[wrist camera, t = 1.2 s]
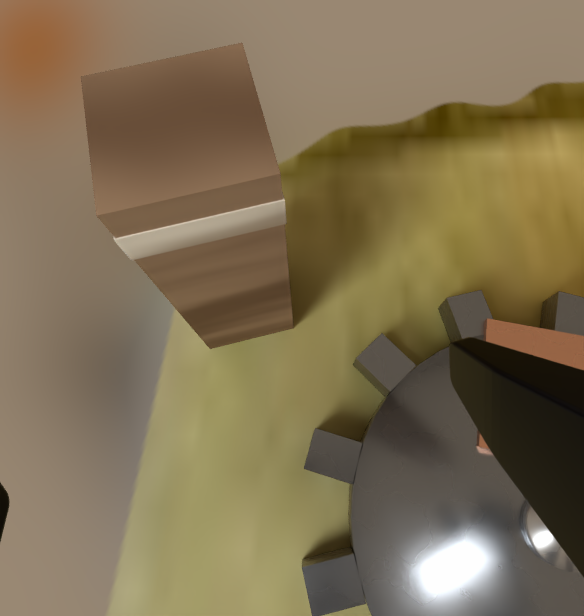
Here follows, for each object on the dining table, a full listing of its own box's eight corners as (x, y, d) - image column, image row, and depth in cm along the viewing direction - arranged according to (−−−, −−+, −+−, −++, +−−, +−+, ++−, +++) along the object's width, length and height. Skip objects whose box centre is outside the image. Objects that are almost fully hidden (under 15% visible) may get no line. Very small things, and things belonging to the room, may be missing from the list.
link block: (294, 328, 23) (282, 175, 10) (209, 350, 22) (94, 218, 10) (274, 252, 24) (243, 41, 12) (194, 272, 24) (78, 75, 12)
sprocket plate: (914, 640, 18) (1000, 665, 15) (489, 984, 15) (521, 1075, 13) (568, 237, 24) (594, 215, 22) (226, 422, 21) (217, 418, 19)
